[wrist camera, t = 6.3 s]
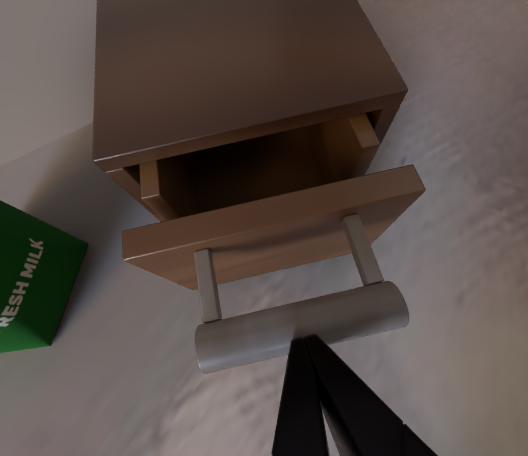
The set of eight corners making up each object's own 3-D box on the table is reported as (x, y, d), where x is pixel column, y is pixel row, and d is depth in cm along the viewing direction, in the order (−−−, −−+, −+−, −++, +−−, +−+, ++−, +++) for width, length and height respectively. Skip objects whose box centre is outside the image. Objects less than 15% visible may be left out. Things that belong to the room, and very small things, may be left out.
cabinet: (351, 201, 19) (409, 89, 10) (181, 240, 19) (91, 161, 10) (298, 64, 25) (306, -88, 16) (165, 94, 24) (97, -43, 15)
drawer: (392, 319, 15) (488, 309, 8) (200, 364, 15) (124, 396, 8) (308, 97, 22) (319, -19, 15) (173, 127, 22) (117, 25, 14)
